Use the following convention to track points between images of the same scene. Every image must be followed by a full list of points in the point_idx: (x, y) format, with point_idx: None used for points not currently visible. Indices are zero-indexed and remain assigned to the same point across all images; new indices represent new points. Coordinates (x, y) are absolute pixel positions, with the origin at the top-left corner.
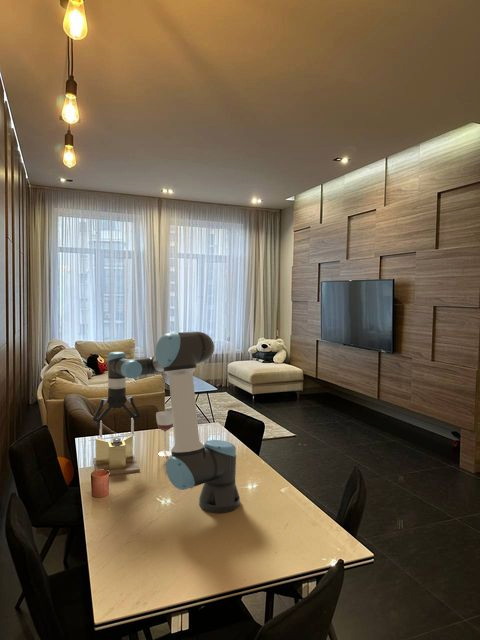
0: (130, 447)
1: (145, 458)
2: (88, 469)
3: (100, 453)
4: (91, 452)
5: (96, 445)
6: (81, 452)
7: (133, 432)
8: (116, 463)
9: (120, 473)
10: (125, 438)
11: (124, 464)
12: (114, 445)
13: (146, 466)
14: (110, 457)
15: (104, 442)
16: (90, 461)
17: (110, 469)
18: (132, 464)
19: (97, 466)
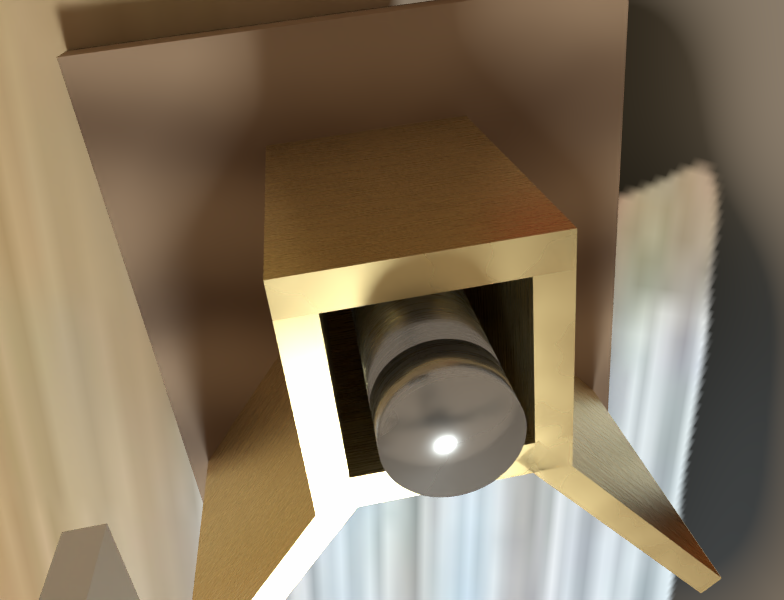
0: (222, 516)
1: (62, 441)
2: (667, 230)
3: (587, 410)
4: (592, 594)
5: (668, 504)
6: (668, 597)
7: (58, 559)
8: (391, 147)
9: (325, 15)
10: (289, 587)
11: (280, 155)
12: (474, 327)
13: (2, 212)
14: (498, 164)
15: (610, 487)
16: (623, 420)
17: (455, 112)
18: (183, 230)
19: (593, 233)
